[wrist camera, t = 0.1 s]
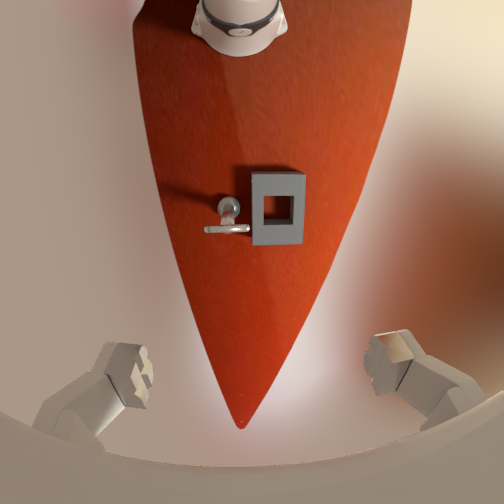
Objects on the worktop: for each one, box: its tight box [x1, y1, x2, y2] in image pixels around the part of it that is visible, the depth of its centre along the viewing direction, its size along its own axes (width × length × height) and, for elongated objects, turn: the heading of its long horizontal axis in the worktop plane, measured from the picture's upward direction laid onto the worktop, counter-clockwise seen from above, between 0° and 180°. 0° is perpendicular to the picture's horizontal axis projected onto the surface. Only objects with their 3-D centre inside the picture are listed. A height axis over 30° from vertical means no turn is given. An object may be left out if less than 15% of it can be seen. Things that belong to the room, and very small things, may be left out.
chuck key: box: [204, 196, 250, 234], centre depth 49 cm, size 4×7×14 cm, turn 91°
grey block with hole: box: [251, 171, 306, 245], centre depth 54 cm, size 14×10×4 cm
